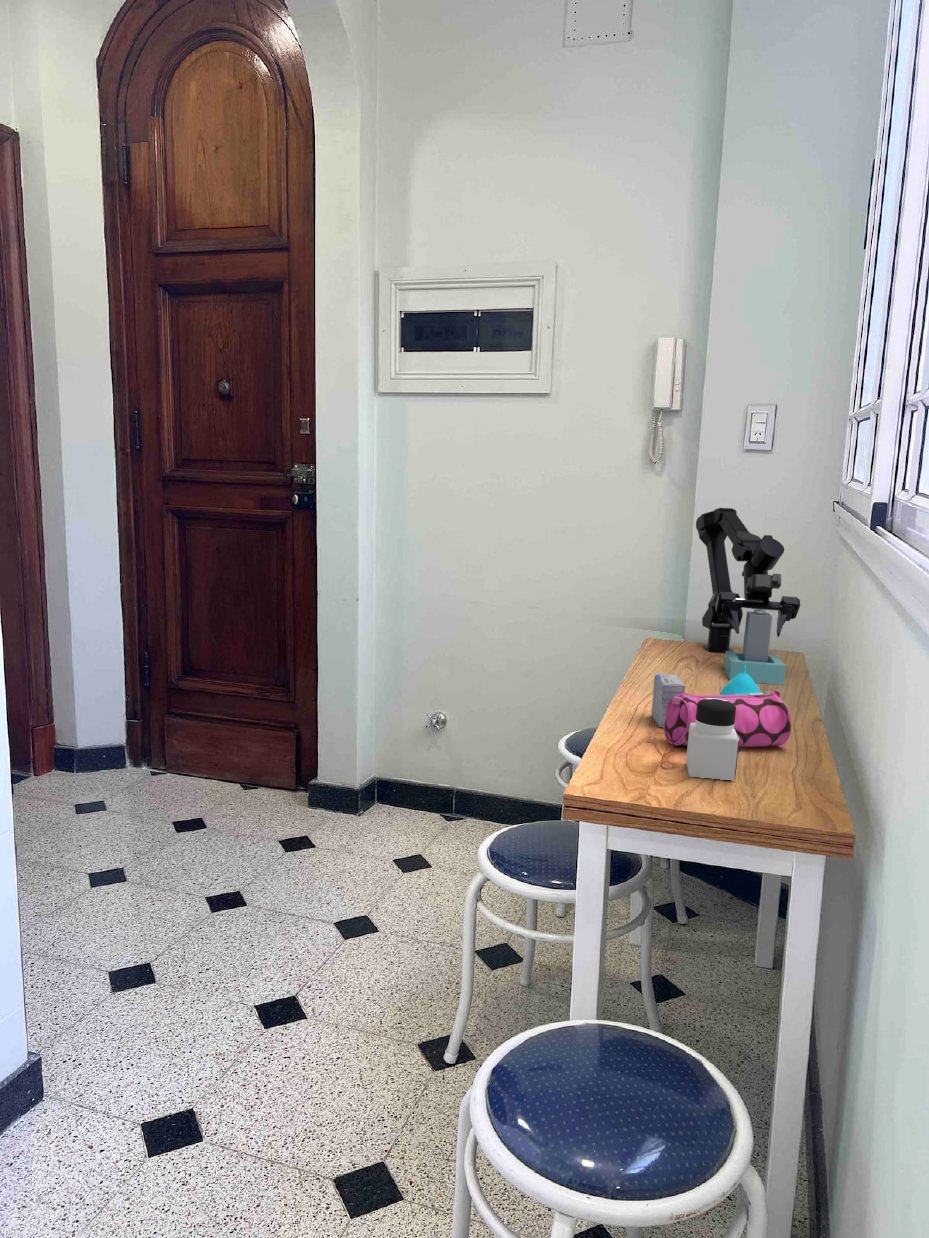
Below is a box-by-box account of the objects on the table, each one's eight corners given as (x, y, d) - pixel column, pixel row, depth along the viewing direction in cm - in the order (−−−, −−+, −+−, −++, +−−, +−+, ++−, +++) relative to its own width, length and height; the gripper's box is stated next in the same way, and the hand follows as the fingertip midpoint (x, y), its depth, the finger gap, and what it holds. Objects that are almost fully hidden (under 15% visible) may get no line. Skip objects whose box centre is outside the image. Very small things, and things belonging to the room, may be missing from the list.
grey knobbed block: (741, 661, 213) (747, 608, 210) (763, 662, 212) (769, 609, 209) (744, 665, 208) (750, 611, 205) (766, 667, 207) (772, 613, 205)
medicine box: (682, 729, 166) (686, 684, 164) (658, 728, 166) (662, 683, 164) (673, 717, 174) (677, 674, 172) (650, 716, 174) (654, 673, 172)
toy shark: (720, 728, 168) (726, 673, 166) (708, 702, 185) (713, 653, 183) (774, 732, 166) (780, 677, 164) (756, 706, 184) (761, 656, 182)
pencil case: (762, 734, 165) (767, 682, 163) (792, 751, 156) (798, 697, 154) (656, 737, 160) (661, 684, 159) (681, 755, 151) (686, 699, 149)
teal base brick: (723, 668, 217) (725, 650, 216) (774, 672, 215) (776, 654, 214) (729, 680, 205) (731, 661, 205) (783, 684, 204) (785, 665, 203)
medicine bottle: (735, 782, 139) (743, 709, 137) (688, 777, 140) (695, 704, 138) (729, 767, 146) (737, 697, 144) (685, 762, 147) (692, 693, 145)
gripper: (721, 558, 211) (722, 611, 202) (803, 563, 208) (807, 617, 199) (715, 586, 220) (715, 638, 211) (793, 591, 217) (796, 644, 208)
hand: (758, 634), depth 207 cm, fingers open, 9 cm apart
